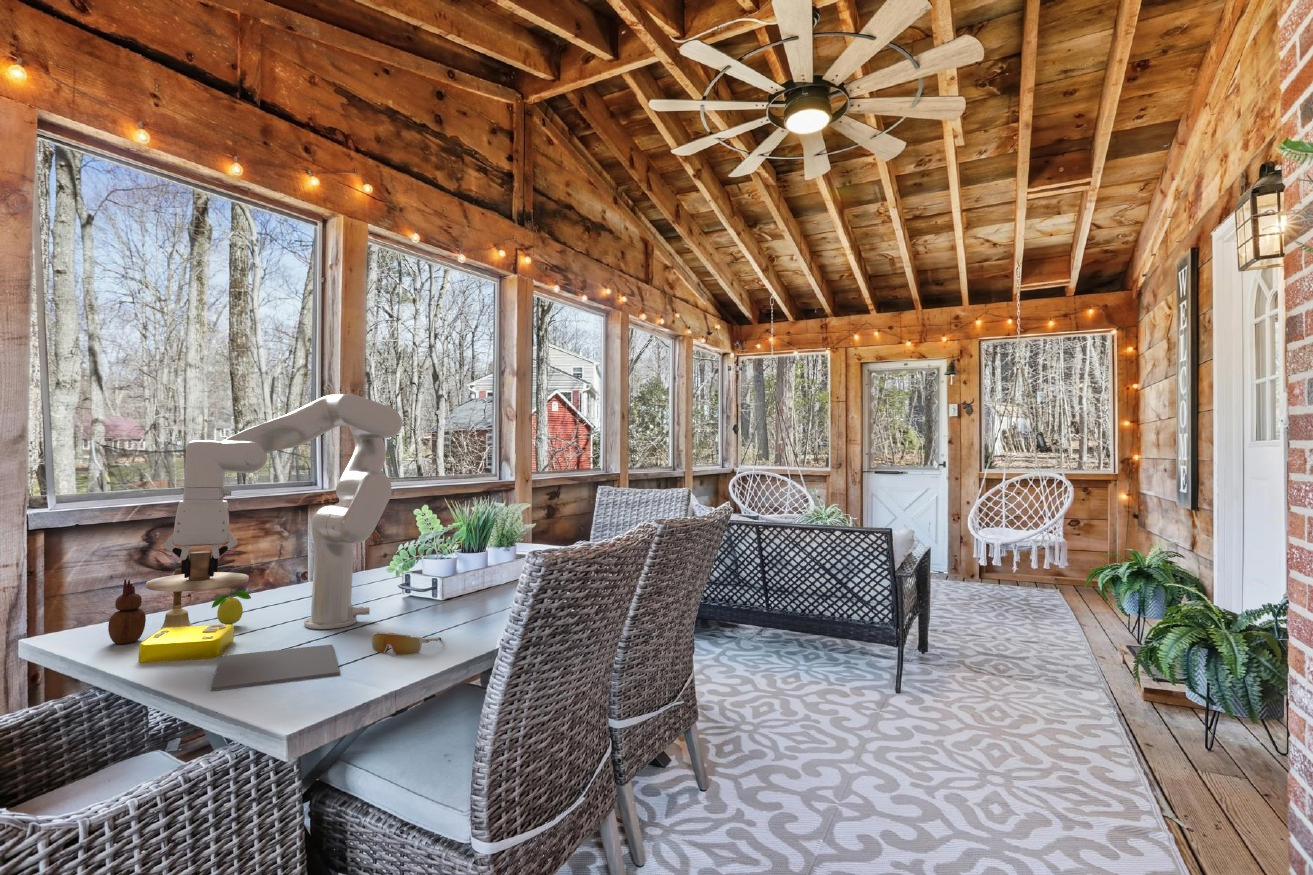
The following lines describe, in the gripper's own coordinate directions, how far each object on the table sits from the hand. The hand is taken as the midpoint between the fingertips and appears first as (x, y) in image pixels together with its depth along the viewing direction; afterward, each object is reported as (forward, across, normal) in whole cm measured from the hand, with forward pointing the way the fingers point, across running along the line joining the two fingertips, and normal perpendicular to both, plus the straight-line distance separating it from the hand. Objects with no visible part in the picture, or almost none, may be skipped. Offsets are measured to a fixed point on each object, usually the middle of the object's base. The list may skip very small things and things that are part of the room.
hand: (199, 575), depth 147 cm
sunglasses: (+18, -43, +14) cm, 48 cm away
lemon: (+17, -6, -23) cm, 29 cm away
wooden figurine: (+17, +14, -16) cm, 28 cm away
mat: (+17, -16, +18) cm, 30 cm away
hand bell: (+18, +5, -20) cm, 27 cm away
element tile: (+18, +1, -2) cm, 18 cm away
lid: (+2, 0, 0) cm, 2 cm away
